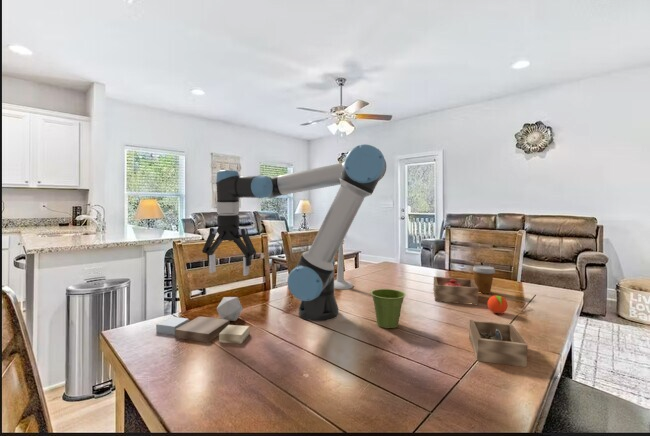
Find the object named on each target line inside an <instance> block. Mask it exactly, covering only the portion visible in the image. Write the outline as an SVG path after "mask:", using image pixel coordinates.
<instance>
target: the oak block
mask: <svg viewBox="0 0 650 436" xmlns="http://www.w3.org/2000/svg"><path fill="white" fill-rule="evenodd" d="M249 335H250V325H238V324H235V325H234V324H230V325H228V326H227V327H226V328H225V329H224V330H222V331H221V332H220V333H219V335H218V342H219V343H224V344H225V343H226V344H243V342H245V340H246V339H247V338H248V337H249Z"/></svg>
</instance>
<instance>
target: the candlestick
mask: <svg viewBox="0 0 650 436" xmlns="http://www.w3.org/2000/svg"><path fill="white" fill-rule="evenodd" d="M344 242H345V240H343V242H342V244H341V246H340V248H339V249H338V252H337V253H338V255H337V256H338V257H337V271H336V272H337V273H336V279H334V290H340V291H341V290H343V291H344V290H349V289H352V288H353V287H354V284H353V283H352V282H351V281H348V280H345V275H344V271H345V270H344V248H343V245H344Z"/></svg>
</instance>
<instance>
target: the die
mask: <svg viewBox="0 0 650 436" xmlns="http://www.w3.org/2000/svg"><path fill="white" fill-rule="evenodd" d="M216 311H217V313H218V316H219V317H220V318H219V319H225V320H230V322H231V321H233V322H236V321H237V320H238V318H239V316H240V315H241V313H242V311H243V306H242V304H241V302H240V299H239V297H238V296H224V297H222V299H221V301H220V302H219V304H218V306H217V307H216Z"/></svg>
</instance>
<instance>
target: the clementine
mask: <svg viewBox="0 0 650 436" xmlns="http://www.w3.org/2000/svg"><path fill="white" fill-rule="evenodd" d="M486 304H487V307H488V309H489V310H490V311H491V312H492V313H493V312H494V314H496V313H501V314H503V313H505V312H506V311H507V310H508V301H507V300H506V299H505V298H504V297H503V296H501V295H497V294H496V295H492V296H490V297H489V298H488V300H487V303H486Z"/></svg>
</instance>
